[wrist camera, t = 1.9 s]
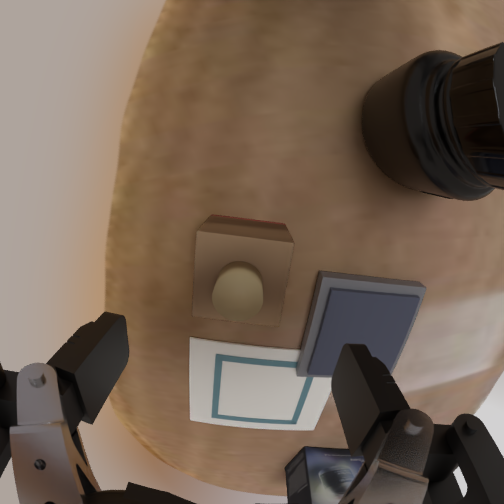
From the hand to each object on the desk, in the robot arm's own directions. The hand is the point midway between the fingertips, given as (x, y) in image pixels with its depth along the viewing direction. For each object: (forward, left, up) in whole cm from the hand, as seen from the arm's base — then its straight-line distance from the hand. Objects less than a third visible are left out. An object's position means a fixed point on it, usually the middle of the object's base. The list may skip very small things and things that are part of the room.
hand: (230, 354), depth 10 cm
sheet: (+13, +3, -11) cm, 17 cm away
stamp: (0, 0, -11) cm, 11 cm away
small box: (+26, +14, -11) cm, 31 cm away
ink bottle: (-11, +11, -11) cm, 19 cm away
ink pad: (+5, +10, -11) cm, 15 cm away
